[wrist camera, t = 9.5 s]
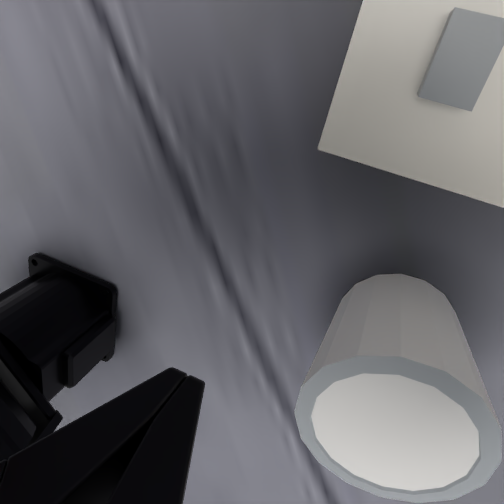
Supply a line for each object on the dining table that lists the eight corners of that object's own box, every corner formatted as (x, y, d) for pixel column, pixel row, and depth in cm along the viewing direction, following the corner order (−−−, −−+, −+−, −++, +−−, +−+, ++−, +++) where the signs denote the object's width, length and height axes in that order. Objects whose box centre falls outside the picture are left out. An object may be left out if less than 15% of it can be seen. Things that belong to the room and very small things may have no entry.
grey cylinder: (327, 254, 19) (293, 340, 13) (486, 270, 17) (529, 381, 11) (323, 364, 22) (293, 475, 16) (458, 390, 20) (481, 529, 14)
